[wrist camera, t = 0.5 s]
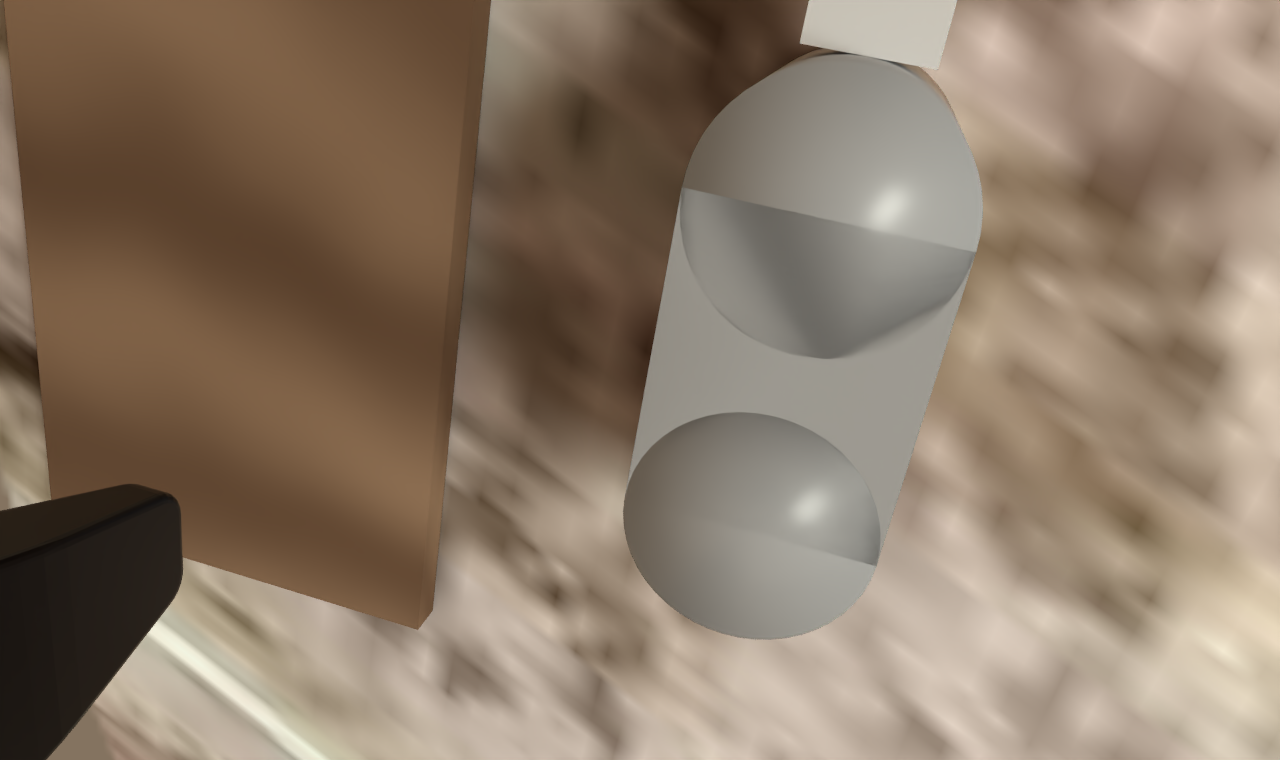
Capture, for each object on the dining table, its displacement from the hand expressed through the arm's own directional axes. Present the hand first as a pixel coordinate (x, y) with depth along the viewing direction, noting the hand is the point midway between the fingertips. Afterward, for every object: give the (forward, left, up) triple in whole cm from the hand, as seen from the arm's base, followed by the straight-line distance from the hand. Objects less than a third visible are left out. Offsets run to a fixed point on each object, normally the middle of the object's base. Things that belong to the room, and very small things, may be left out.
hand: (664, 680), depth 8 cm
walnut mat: (-2, +12, -12) cm, 17 cm away
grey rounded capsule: (+1, 0, -12) cm, 12 cm away
